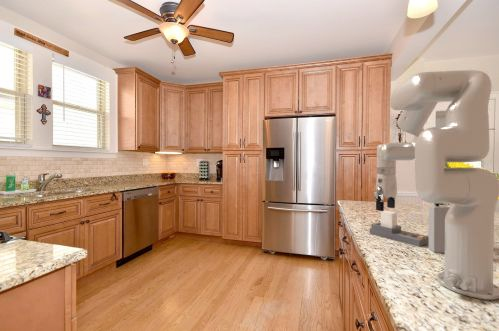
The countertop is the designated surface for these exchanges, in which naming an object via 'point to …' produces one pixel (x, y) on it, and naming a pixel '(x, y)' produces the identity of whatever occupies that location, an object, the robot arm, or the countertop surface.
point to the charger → (388, 219)
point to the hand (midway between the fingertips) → (385, 209)
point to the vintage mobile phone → (437, 228)
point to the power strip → (398, 235)
